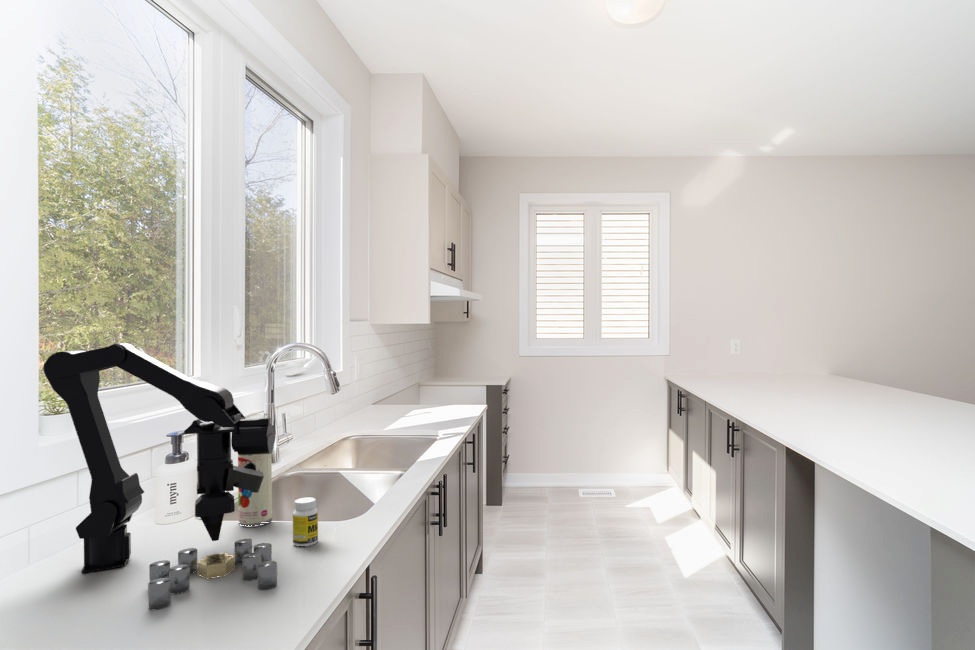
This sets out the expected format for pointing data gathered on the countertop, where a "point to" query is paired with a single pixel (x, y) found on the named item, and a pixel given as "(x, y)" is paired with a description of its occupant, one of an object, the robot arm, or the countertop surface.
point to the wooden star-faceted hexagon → (216, 565)
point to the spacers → (179, 576)
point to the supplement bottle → (305, 522)
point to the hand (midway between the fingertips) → (215, 540)
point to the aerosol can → (256, 504)
